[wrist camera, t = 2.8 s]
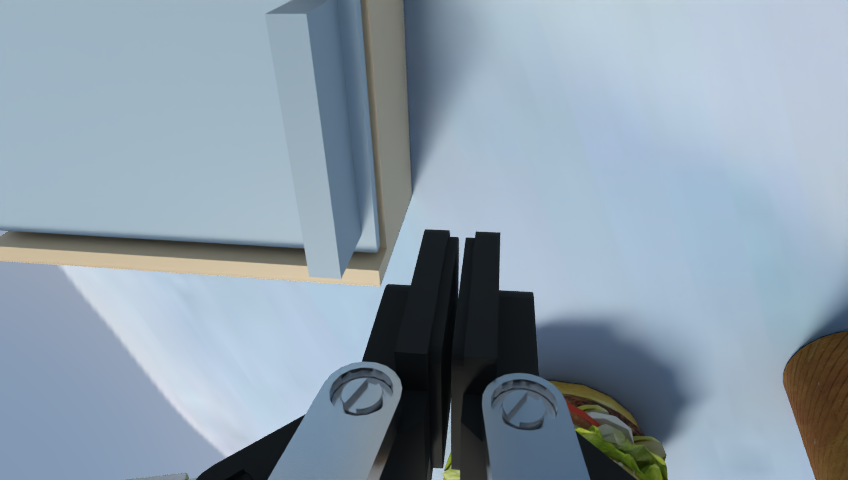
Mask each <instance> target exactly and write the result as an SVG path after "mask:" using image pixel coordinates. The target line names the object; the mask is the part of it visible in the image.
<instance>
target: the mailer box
mask: <svg viewBox="0 0 848 480" xmlns="http://www.w3.org/2000/svg"><path fill="white" fill-rule="evenodd" d="M360 5H361V18H362V30H363V42H364V54H365V66H366V78H367V91H368V103H369V115H370V127H371V139H372V152H373V164H374V176H375V188H376V200H377V213H378V225H379V237H380V247H379V249H378V252H377V253H373V252H356V251H354V252H353V254H352V257H351V259H350V261H349V263H348V265H347V268H346V270H345V272H344V274H343V276H342V278H341V279H333V278H318V277H309V273H308V267H307V261H306V255H305V249H304V248H289V247H272V246H255V245H238V244H222V243H205V242H188V241H171V240H154V239H138V238H121V237H104V236H87V235H71V234H54V233H37V232H20V231H8V232H6V233H5V234H3V235H2V236H1V237H0V261H12V262H26V263H42V264H55V265H70V266H84V267H99V268H114V269H128V270H143V271H158V272H172V273H187V274H202V275H216V276H231V277H246V278H260V279H275V280H290V281H304V282H319V283H334V284H349V285H363V286H378V287H380V286H381V283H382V280H383V277H384V275H385V272H386V269H387V266H388V263H389V260H390V258H391V255H392V252H393V249H394V246H395V243H396V240H397V238H398V235H399V232H400V229H401V226H402V223H403V221H404V218H405V215H406V212H407V209H408V206H409V204H410V201H411V198H412V184H411V161H410V138H409V115H408V92H407V69H406V46H405V23H404V0H360Z"/></svg>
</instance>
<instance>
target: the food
mask: <svg viewBox="0 0 848 480" xmlns="http://www.w3.org/2000/svg"><path fill="white" fill-rule="evenodd" d="M549 382H550V383H552V384H553V385H554V386H555V387H556V388H557V389H558V390H559V391H560V392H561V393H562V395H563V397H564V399H565V401H566V403H567V406H568V409H569V413H570V416H571V419H572V422H573V425H574V429H575V431H577V432H578V433H579V434H580V435H582V436H583V437H584V438H585V439H587V440H588V441H589V442H591V443H592V444H593V445H594V446H596V447H597V448H598V449H599V450H601V451H602V452H603V453H604V454H606V455H607V456H608V457H609V458H611V459H612V460H613V461H614V462H616V463H617V464H618V465H619V466H621V467H622V468H623V469H624V470H626V471H627V472H628V473H629V474H631V475H632V476H633V477H634V478H636V479H637V480H668V479H667V467H666V463H665V458H666V453H665V451H664V448H663V446H662V443H661V442H660V441H658V440H657V439H655V438H654V437H652V436H645V435H644V434H643V432H642V431H641V429H640V428H639V427H638V424H637V422H636V421H635V419H634V418H633V416H632V415H631V413H630V412H628V411H627V410H626V409H625V408H623V407H622V406H621V405H620V404H618V403H617V402H616V401H615V400H614V399H612V398H611V397H610V396H608V395H605V394H603V393H601V392H598V391H596V390H594V389H592V388H589V387H587V386H585V385H579V384H572V383H564V382H557V381H549ZM446 470H447V471H446ZM444 471H446V472H444V473H442V474H443V476H444V479H443V480H460V470H453V469H451V453H450V456H449V458H448V461H447V464H446V467H445V470H444Z"/></svg>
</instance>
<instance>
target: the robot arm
mask: <svg viewBox="0 0 848 480" xmlns="http://www.w3.org/2000/svg"><path fill="white" fill-rule="evenodd" d="M499 261H500V233H495V232H476V235H475V238H466V241H465V249H464V257H463V265H462V273H461V282H460V290H459V298H458V271H459V238H458V237H450V232H449V230H425V231H424V235H423V239H422V243H421V247H420V251H419V255H418V259H417V263H416V267H415V271H414V275H413V279H412V283H411V285H394V284H388V285H386V288H385V290H384V293H383V296H382V299H381V303H380V306H379V309H378V312H377V315H376V319H375V322H374V325H373V328H372V331H371V335H370V338H369V341H368V344H367V347H366V350H365V354H364V357H363V360H362V362H358V363H352V364H349V365H347V366H344V367H342V368H340V369H338V370H337V371H335V372H334V373H333V374H331V375H330V376H329V378H328V379H327V380H326V381H325V382H324V384H323V386H322V387H321V389H320V391H319V393H318V394H317V396H316V398H315V399H314V401H313V403H312V405H311V406H310V408H309V410H308V411H307V413H306V414H305V415H304V416H302V417H300V418H298V419H296V420H294V421H293V422H291V423H289V424H287V425H285V426H284V427H282V428H280V429H278V430H276V431H275V432H273V433H271V434H269V435H267V436H265V437H264V438H262V439H260V440H258V441H256V442H255V443H253V444H251V445H249V446H247V447H246V448H244V449H242V450H240V451H238V452H236V453H235V454H233V455H231V456H229V457H227V458H226V459H224V460H222V461H220V462H218V463H217V464H215V465H213V466H212V467H210V468H209V469H207V470H206V471H204V472H203V473H202V474H201V475H200V476H199V477H198V478H194V479H189V477H188V475H187V473H181V474H172V475H163V476H155V477H146V478H137V479H129V480H431V479H432V471H433V468H443V464H444V456H445V447H446V438H447V430H448V421H449V412H450V403H451V469H453V470H460V480H637V479H636V478H634V477H633V476H632V475H631V474H629V473H628V472H627V471H626V470H624V469H623V468H622V467H621V466H619V465H618V464H617V463H616V462H614V461H613V460H612V459H611V458H609V457H608V456H607V455H606V454H604V453H603V452H602V451H601V450H599V449H598V448H597V447H596V446H594V445H593V444H592V443H591V442H589V441H588V440H587V439H585V438H584V437H583V436H582V435H580V434H579V433H578V432H577V431H575V429H574V425H573V422H572V419H571V416H570V413H569V409H568V406H567V403H566V401H565V399H564V397H563V395H562V393H561V392H560V391H559V390H558V389H557V388H556V387H555V386H554V385H553V384H552V383H550V382H549V381H547V380H545V379H543V378H542V377H539V373H538V357H537V342H536V326H535V310H534V296H533V292H519V291H501V290H499Z"/></svg>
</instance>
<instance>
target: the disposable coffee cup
mask: <svg viewBox="0 0 848 480" xmlns="http://www.w3.org/2000/svg"><path fill="white" fill-rule="evenodd" d="M783 384H784V388H785V390H786V393H787V396H788V399H789V402H790V405H791V408H792V410H793V413H794V417H795V419H796V422H797V425H798V428H799V431H800V434H801V437H802V440H803V444H804V447H805V449H806V452H807V456H808V458H809V461H810V464H811V467H812V470H813V473H814V476H815V479H816V480H848V331H846V332H840V333H836V334H831V335H828V336H825V337H822V338H820V339H818V340H816V341H814V342H812V343H810V344H808V345H806V346H805V347H803V348H802V349H800V350H799V351H798V352H797V353H796V354H795V355H794V356H793V357H792V358H791V359H790V361H789V362H788V364H787V365H786V368H785V370H784V373H783Z"/></svg>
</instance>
